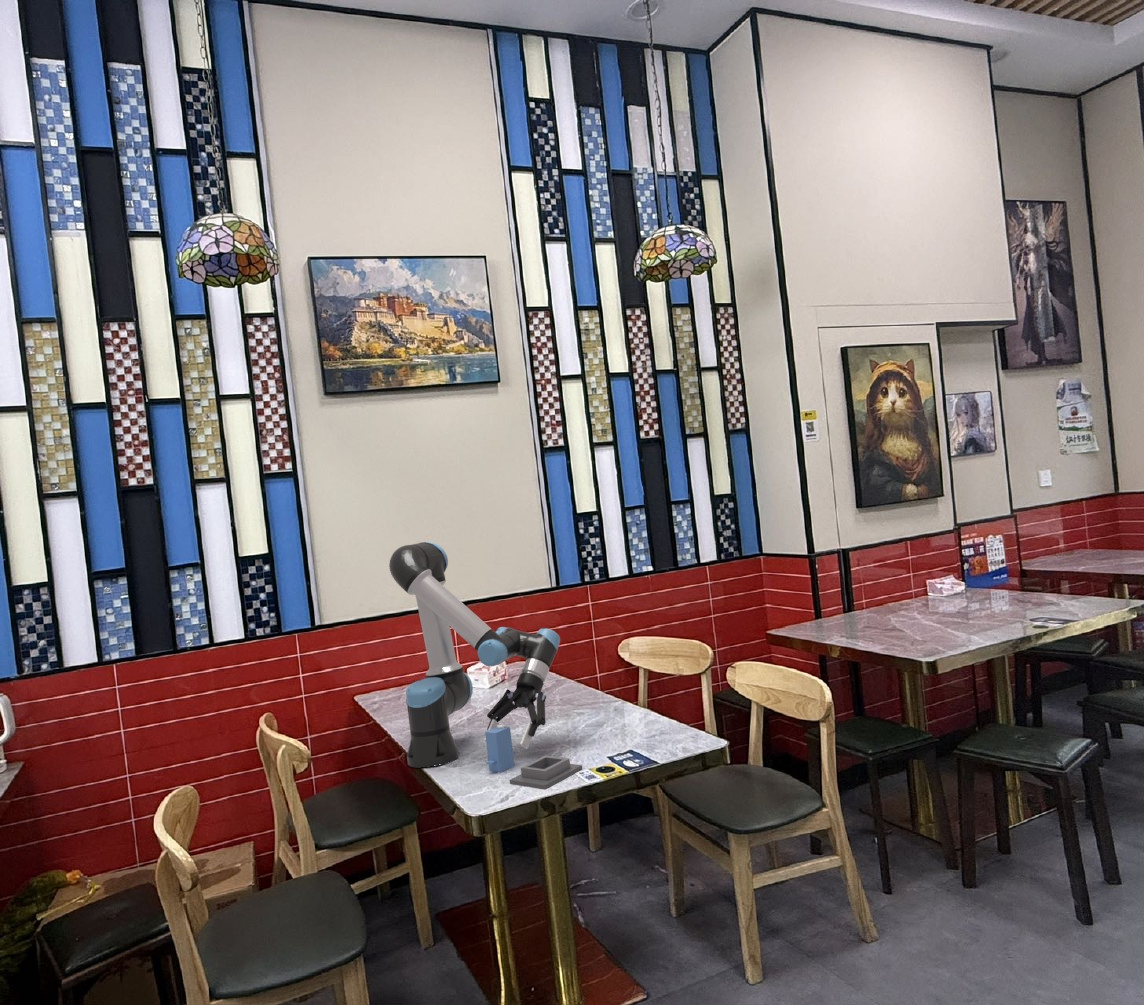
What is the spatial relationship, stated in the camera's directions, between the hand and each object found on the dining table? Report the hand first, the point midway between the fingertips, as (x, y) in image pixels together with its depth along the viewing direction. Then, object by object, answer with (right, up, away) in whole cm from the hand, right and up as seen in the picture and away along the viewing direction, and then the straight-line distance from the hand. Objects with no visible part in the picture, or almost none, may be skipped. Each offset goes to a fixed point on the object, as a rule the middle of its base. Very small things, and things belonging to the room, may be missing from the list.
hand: (505, 744), depth 232 cm
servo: (-1, -7, 0) cm, 7 cm away
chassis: (+12, -5, -11) cm, 17 cm away
